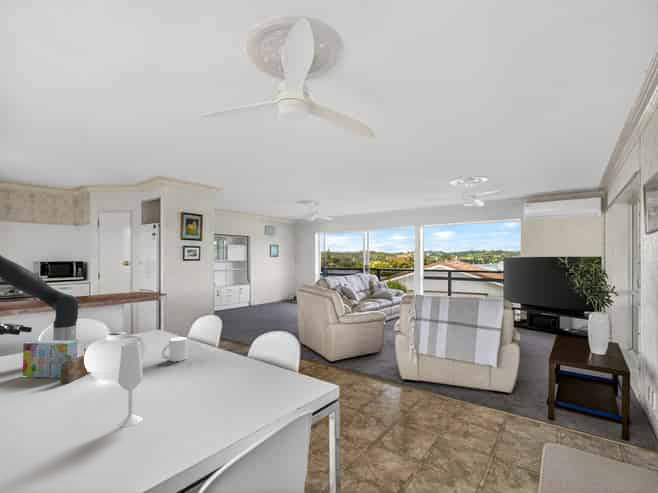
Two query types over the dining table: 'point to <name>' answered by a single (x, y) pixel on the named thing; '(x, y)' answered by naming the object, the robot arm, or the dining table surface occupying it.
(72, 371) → the block
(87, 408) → the dining table surface
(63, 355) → the snack box
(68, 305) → the robot arm
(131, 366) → the champagne flute
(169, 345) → the mug
